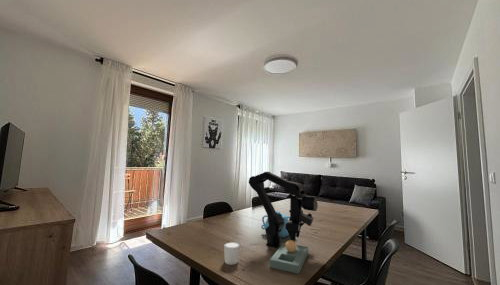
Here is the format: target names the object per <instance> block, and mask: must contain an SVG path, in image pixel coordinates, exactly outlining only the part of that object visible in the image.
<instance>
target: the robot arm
mask: <svg viewBox="0 0 500 285" xmlns="http://www.w3.org/2000/svg"><path fill="white" fill-rule="evenodd" d="M267 181H270V182H272V183H274V184H275V185H277V186H279V187H282V189H285V191H287V192H288V193H289V194H288V195H287V196H286V199H289V202H290V203H289V204H290V205H289V207H290V208H289V210H288V212H289V216H290V218H288V221H289V222H288V223H286V224H285V223H284V219H283V218H282V215H281V214H282V213H280V214H277V213H276V212H277V211H276V210H275V208H274V206H273V203H272V201H271V200H270V198H269V196H268V193H267V191H266V190H265V182H267ZM248 184H249V185H250V187H251V189H252V190H253V191H255V193H256V194H257V196H258V199H259V200H260V202H261V205H262V206H263V208H264V211H265V213H266V215H268V217H267V218H268V223H269V226H268V227H267V228H266V229H264V231H265V234H266V235H267V236H266V243H265V246H268V247H275V248H279V247H280V245H282V237H281V236H280V232H281V230H282V229H283V228H284V225H285V229H286V230H287V231H288V233H289V235H288V236H289V239H290V240H292V241H294V242H295V243H296V238H300V234H301V229H302V227H303V226H304V224H306V225H307V226H309V227H311V226H312V224H313V222H314V220H315V218H314V217H313V214H312V213H310V212H308V214H306V213H304V211H303V210H305V211H311V212H317V211H318V206H319V204H318V201H317V197H316V196H312V195H311V196H309V195H308V194H307V192H306V191H305V189H304V187H303V184H302V183H300V182H296V181H292V180H287V179H286V178H283V177H281V176H279V175H276V174H274V173H272V172H271V171H264V172H262V173H260V174H257V175H252V176H250V177H249V179H248Z"/></svg>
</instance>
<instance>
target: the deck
mask: <svg viewBox="0 0 500 285" xmlns="http://www.w3.org/2000/svg"><path fill="white" fill-rule="evenodd" d="M285 245H286V242H283V243H281V246H279V247H278V249H277V250H276V251H275V253H274V254H273V255H272V256H271V257H270V258H269V268H272V269H277V270H280V271H284V272H289V273H293V274H299V275H300V272H301V270H302V269H303V268H302V267H303V266H304V263H305V261H306V259H307V256H308V255H309V246H305V245H300V244H296V246H297V247H296V250H295V251H294V252H289V251H287V249H286V247H285Z"/></svg>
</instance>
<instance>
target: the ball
mask: <svg viewBox="0 0 500 285" xmlns="http://www.w3.org/2000/svg"><path fill="white" fill-rule="evenodd" d="M285 243H286V245H285V247H286V249H287V251H289V252H294V251H295V250H296V247H297V246H296V245H297V244H296V241H295V242H294V241H292V240H291V239H289V240H287V241H286V242H285Z"/></svg>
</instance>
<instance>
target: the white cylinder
mask: <svg viewBox="0 0 500 285" xmlns="http://www.w3.org/2000/svg"><path fill="white" fill-rule="evenodd" d="M240 246H241V245H240V243H238V242H235V241H234V242H233V241H231V242H226V243H224V244H223V249H224V254H223V255H224V262H225V264H226V265H231V266H232V265H236V264H238V263H239V256H240V248H241V247H240Z"/></svg>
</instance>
